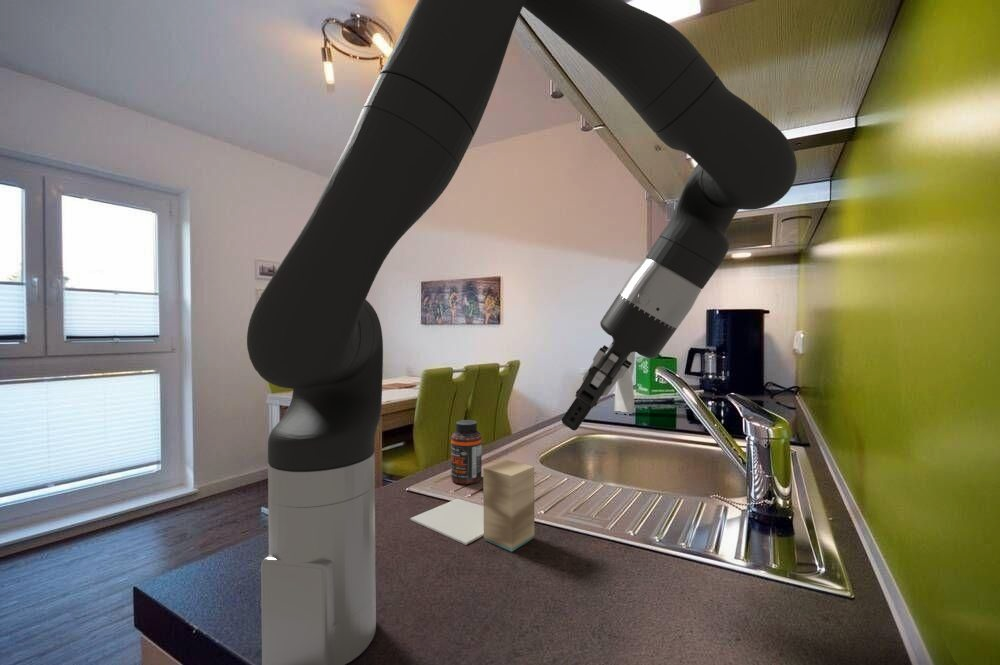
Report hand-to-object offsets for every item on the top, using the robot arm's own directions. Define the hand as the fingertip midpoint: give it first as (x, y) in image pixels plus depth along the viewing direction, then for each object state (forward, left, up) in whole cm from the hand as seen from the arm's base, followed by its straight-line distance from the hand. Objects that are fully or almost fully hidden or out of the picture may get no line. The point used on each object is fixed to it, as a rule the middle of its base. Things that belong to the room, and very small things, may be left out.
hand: (569, 424), depth 54 cm
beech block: (+4, +8, -17) cm, 20 cm away
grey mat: (+9, +17, -17) cm, 25 cm away
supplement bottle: (+26, +20, -17) cm, 38 cm away
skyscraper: (+99, -17, -17) cm, 102 cm away
